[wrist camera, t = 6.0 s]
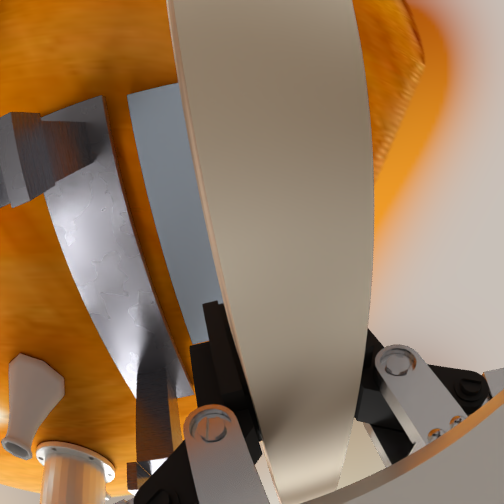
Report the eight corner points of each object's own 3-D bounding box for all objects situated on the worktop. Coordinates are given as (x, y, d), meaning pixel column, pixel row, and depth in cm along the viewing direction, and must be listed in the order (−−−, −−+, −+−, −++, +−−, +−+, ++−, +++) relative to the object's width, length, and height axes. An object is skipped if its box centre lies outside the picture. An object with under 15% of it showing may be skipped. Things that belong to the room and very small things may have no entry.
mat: (270, 316, 29) (274, 322, 28) (191, 337, 27) (192, 344, 26) (232, 75, 20) (235, 73, 19) (128, 96, 18) (126, 95, 17)
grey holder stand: (192, 386, 30) (215, 500, 18) (140, 396, 29) (145, 509, 17) (105, 96, 18) (22, 62, 6) (34, 123, 17) (-87, 136, 5)
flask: (57, 407, 27) (45, 477, 18) (5, 379, 24) (-19, 445, 15) (74, 375, 26) (59, 454, 17) (15, 341, 23) (-17, 415, 14)
